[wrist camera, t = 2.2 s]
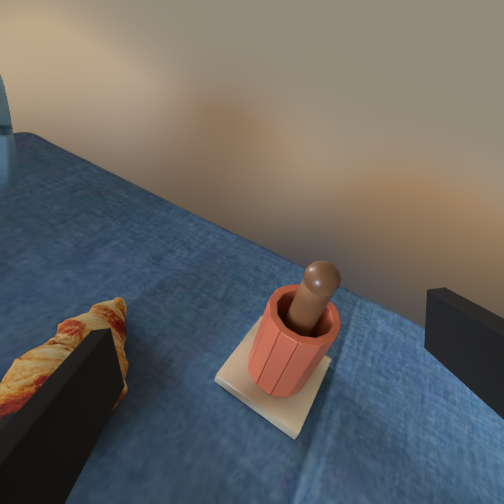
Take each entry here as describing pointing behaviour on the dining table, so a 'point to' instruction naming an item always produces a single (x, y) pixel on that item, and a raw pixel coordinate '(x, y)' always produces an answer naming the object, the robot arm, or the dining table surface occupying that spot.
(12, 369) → the croissant
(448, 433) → the dining table surface
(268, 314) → the orange hollow tube
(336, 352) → the dining table surface
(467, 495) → the dining table surface
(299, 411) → the ring stand
